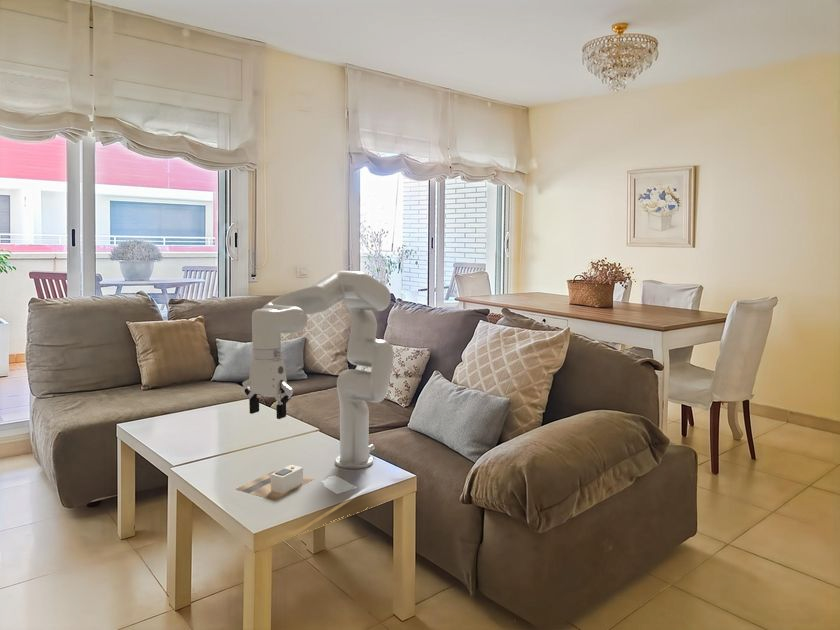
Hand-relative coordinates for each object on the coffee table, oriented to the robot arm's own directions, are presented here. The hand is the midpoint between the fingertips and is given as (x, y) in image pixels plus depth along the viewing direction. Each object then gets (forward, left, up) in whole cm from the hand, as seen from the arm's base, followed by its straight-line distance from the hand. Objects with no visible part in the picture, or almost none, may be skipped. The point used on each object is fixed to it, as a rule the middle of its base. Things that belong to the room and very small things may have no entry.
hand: (267, 415), depth 170 cm
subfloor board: (-11, -7, -26) cm, 29 cm away
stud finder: (-11, -2, -25) cm, 27 cm away
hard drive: (-20, +9, -27) cm, 34 cm away
